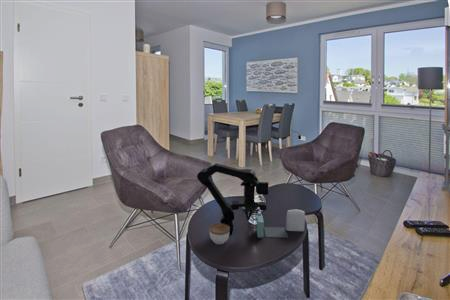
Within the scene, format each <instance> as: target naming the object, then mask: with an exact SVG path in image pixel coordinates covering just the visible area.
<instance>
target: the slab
mask: <svg viewBox="0 0 450 300" xmlns="http://www.w3.org/2000/svg"><path fill="white" fill-rule="evenodd" d="M264 227H265V220H264V218H263V215H256V236H257V238H264V233H265V231H264Z"/></svg>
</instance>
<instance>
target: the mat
mask: <svg viewBox="0 0 450 300" xmlns="http://www.w3.org/2000/svg"><path fill="white" fill-rule="evenodd" d="M264 234H265V238H266V239H267V238H270V239H271V238H273V239H274V238H275V239H279V238H280V239H288V238H289V235H288V233H287V230H286V227H278V226H277V227H276V226H274V227H272V226H269V227H268V226H267V227H266V226H264Z"/></svg>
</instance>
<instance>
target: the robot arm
mask: <svg viewBox="0 0 450 300" xmlns="http://www.w3.org/2000/svg"><path fill="white" fill-rule="evenodd" d="M216 173H220V174H223V175H226V176H231V177H234V178H238V179H240V180H241V181H242V182H240V186H241V187H243V203H241V202H239V201H238V200H236V201H235V200H234V201H231V203H228V202H227V200H226V199H225V197H224V195H223V194H222V193H221V191H220V189H219V188H218V186H217V185H216V184H215V182H214V180H213V177H212V176H213V175H214V174H216ZM196 177H197V178H196V179H197V181H199V183H201V185H203V186H204V187H206V188H207V190H208V191H209V193H210V194H211V196H212V197H213V199H214V200H215V202H216V203H217V204H218V206H219V207H220V209H221V213H222V215H221V218H220V219H219V221H220V222H219V223H222V224H226V225H228V226H229V227H230V233H229V235H233V232H234V223H233V221H234V220H235V218H236V214H237V211H238V210H239V209H240V208H241V211H242V212H244V214H245V216H246V220H247V221H250V219H251V217H252V214H253V213H254V212H256V210H258V209H259V210H260V211H267V208H268V206H267V203H266V201H255V195H256V194H257V195H260V196H261V195H262V196H269V192H270V191H269V189H270V186H269V185H270V184H269V182H268V181H264V182H263V181H260V180H259V178H258V177H257V176H256V172H255V170H253V169H249V168H248V169H247V168H244V169H243V168H242V169H241V168H236V167H233V166H228V165H224V164H221V163H217V162H216V163H214V164H213V165H211V166H209V167H207V168H202V169H201V170H200V171H199V172H198V173H197V176H196ZM255 193H256V194H255Z"/></svg>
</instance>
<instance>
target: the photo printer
mask: <svg viewBox="0 0 450 300" xmlns="http://www.w3.org/2000/svg"><path fill="white" fill-rule="evenodd" d="M285 221H286V222H285V230H286V232H287V231H288V232H305V224H306V222H305V221H306V213H305V210H301V209H288V210H287V211H286V220H285Z"/></svg>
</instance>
